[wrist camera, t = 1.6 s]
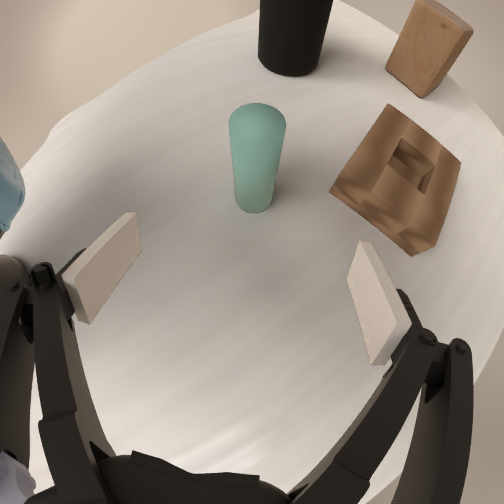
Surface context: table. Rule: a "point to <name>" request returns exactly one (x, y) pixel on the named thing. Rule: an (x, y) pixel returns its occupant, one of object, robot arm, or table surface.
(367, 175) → the socket block
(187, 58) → the table surface
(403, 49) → the wooden block
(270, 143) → the pin
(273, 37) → the coffee jar
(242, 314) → the table surface
